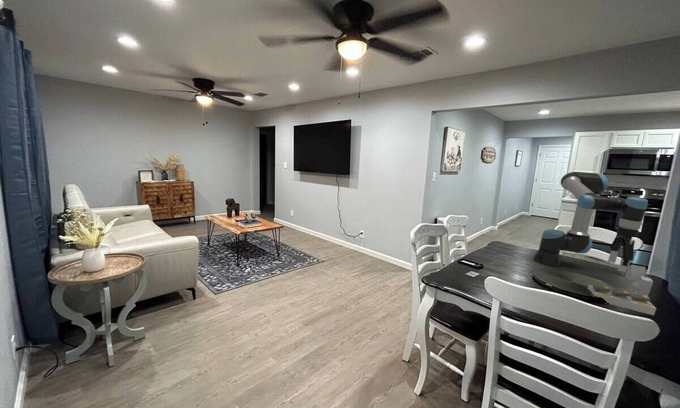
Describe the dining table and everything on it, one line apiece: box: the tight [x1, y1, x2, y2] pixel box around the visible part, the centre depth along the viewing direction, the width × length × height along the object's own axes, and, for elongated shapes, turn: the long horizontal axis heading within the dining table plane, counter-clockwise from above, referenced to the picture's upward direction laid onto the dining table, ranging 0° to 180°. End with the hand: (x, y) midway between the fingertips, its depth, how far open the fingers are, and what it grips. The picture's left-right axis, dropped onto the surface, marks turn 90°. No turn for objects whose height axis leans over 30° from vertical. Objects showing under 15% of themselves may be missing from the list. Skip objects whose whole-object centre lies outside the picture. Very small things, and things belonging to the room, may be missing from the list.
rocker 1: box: [592, 284, 611, 292], centre depth 146 cm, size 6×4×2 cm, turn 61°
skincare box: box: [633, 276, 654, 297], centre depth 148 cm, size 6×4×12 cm
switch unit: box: [587, 284, 657, 316], centre depth 143 cm, size 23×11×4 cm, turn 61°
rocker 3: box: [629, 293, 651, 303], centre depth 139 cm, size 6×4×2 cm, turn 61°
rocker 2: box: [610, 288, 631, 297], centre depth 142 cm, size 6×4×2 cm, turn 61°
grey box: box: [624, 264, 646, 283], centre depth 172 cm, size 4×7×10 cm, turn 67°
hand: (616, 266), depth 142 cm, fingers open, 13 cm apart
